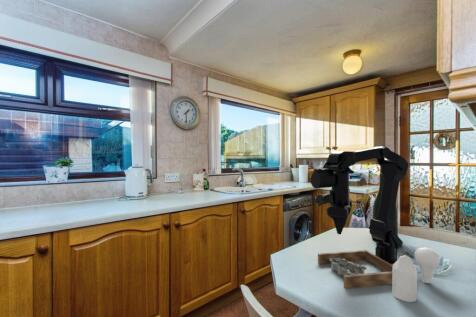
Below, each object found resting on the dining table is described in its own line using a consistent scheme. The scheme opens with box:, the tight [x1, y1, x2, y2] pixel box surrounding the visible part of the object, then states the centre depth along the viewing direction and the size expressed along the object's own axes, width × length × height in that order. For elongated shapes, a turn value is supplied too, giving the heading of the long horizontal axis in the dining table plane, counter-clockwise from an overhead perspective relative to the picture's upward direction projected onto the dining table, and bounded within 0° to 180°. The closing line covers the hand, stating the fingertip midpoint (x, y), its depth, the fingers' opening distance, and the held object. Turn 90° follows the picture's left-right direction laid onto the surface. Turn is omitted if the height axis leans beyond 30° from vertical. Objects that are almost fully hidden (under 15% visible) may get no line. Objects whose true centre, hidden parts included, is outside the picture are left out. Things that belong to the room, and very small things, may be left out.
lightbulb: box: [414, 246, 441, 284], centre depth 72 cm, size 6×6×11 cm
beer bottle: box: [371, 172, 399, 237], centre depth 108 cm, size 10×10×33 cm
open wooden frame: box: [317, 249, 393, 290], centre depth 79 cm, size 20×17×4 cm
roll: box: [391, 254, 418, 303], centre depth 65 cm, size 6×12×6 cm
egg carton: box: [329, 258, 367, 277], centre depth 78 cm, size 11×8×4 cm
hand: (341, 230), depth 82 cm, fingers open, 9 cm apart
